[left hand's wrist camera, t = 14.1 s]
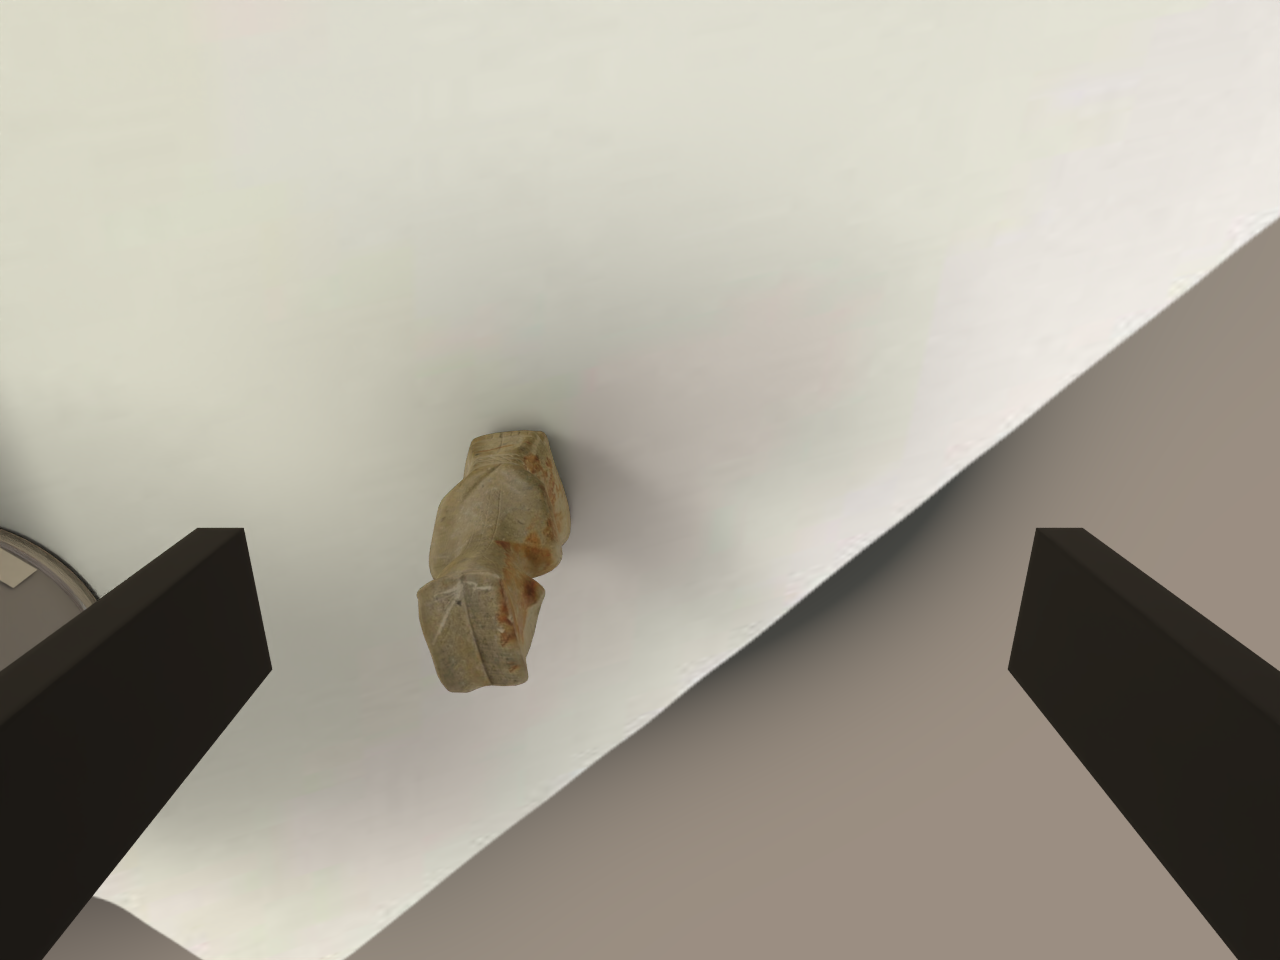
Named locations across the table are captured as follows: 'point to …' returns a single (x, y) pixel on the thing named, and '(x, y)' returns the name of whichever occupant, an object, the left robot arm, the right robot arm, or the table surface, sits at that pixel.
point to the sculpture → (493, 561)
